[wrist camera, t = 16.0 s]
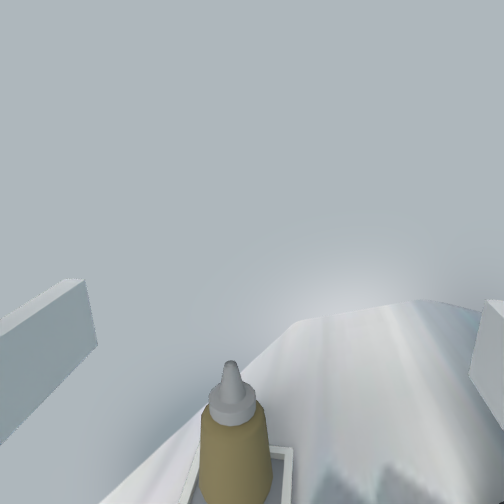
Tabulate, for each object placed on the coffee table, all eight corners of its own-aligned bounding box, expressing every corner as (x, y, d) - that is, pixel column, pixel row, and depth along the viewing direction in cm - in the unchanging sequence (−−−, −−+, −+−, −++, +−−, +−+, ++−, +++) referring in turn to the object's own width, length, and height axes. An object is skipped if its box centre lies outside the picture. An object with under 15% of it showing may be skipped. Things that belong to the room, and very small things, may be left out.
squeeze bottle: (273, 467, 42) (274, 340, 36) (272, 541, 35) (272, 397, 29) (208, 463, 43) (197, 338, 37) (193, 535, 36) (176, 393, 30)
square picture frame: (293, 460, 45) (293, 448, 44) (286, 585, 33) (287, 570, 32) (202, 449, 46) (201, 437, 46) (164, 563, 34) (162, 548, 34)
